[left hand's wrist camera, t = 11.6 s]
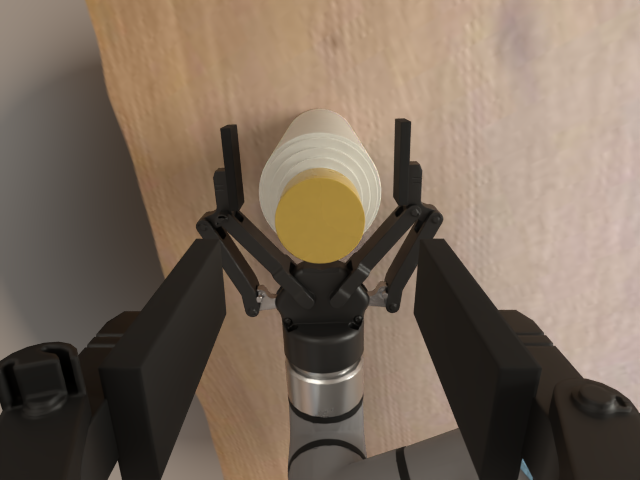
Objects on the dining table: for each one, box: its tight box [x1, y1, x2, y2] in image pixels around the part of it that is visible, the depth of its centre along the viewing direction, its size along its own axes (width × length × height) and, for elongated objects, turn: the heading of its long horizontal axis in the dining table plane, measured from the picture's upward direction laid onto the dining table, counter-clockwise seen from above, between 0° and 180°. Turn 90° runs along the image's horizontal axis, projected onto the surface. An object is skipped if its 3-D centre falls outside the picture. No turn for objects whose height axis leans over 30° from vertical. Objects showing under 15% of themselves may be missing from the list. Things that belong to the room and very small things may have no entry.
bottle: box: [259, 109, 381, 234], centre depth 30 cm, size 7×7×22 cm
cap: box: [275, 168, 365, 263], centre depth 21 cm, size 4×4×2 cm
